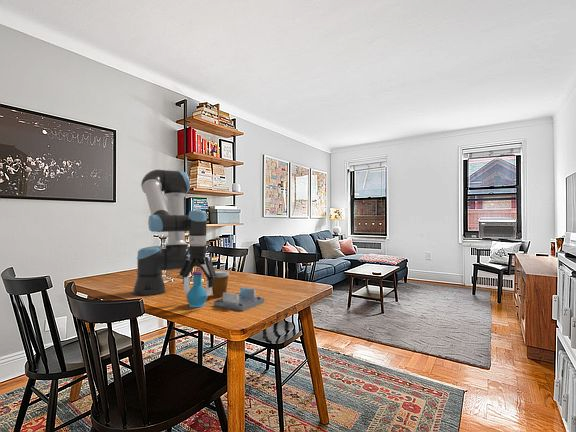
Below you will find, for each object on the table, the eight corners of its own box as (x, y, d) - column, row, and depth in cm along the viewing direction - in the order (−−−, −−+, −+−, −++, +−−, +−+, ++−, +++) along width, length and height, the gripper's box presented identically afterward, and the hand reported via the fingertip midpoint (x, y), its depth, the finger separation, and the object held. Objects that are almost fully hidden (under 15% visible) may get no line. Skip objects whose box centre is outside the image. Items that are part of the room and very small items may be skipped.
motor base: (213, 305, 143) (213, 292, 143) (236, 297, 157) (236, 285, 157) (242, 311, 135) (242, 296, 135) (264, 302, 149) (264, 289, 149)
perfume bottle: (188, 302, 148) (189, 269, 148) (209, 302, 148) (209, 269, 148) (184, 308, 139) (184, 273, 139) (206, 307, 139) (206, 273, 139)
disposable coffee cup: (224, 298, 155) (225, 273, 155) (206, 297, 157) (206, 272, 157) (232, 293, 164) (232, 270, 164) (214, 292, 166) (214, 269, 166)
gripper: (171, 244, 146) (171, 291, 146) (212, 247, 134) (212, 298, 134) (184, 243, 153) (184, 288, 153) (224, 245, 141) (224, 294, 140)
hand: (197, 293), depth 143 cm, fingers open, 13 cm apart
